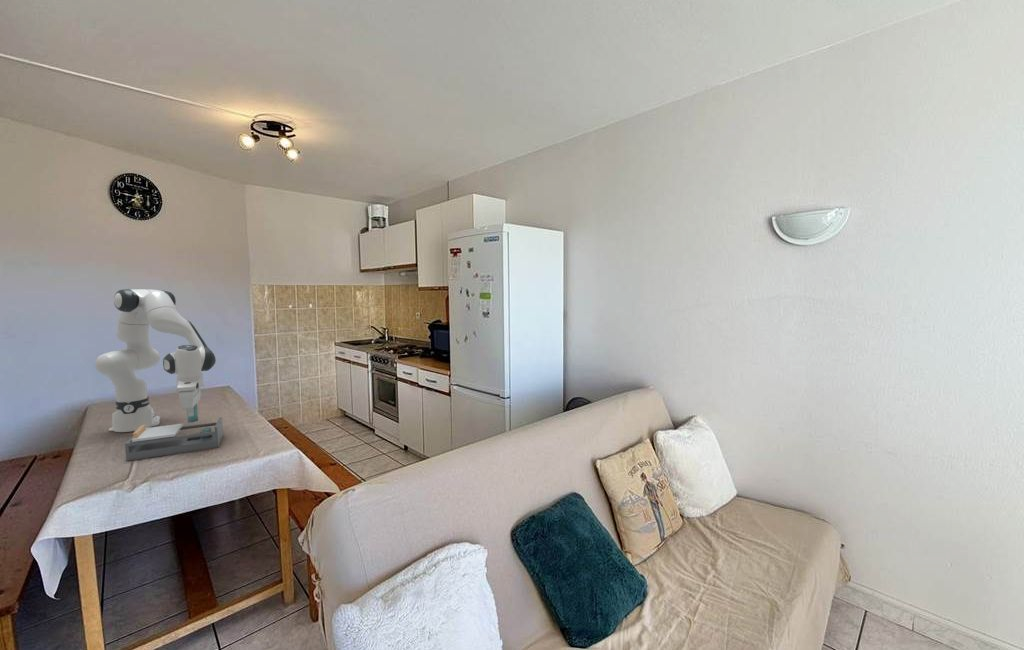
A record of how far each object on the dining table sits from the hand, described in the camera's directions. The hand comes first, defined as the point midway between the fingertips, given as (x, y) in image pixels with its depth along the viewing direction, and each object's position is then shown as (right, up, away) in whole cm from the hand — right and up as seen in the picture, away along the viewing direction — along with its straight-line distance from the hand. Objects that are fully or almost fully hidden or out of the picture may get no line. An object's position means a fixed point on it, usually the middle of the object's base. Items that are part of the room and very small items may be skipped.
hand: (192, 414), depth 178 cm
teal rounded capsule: (0, -3, 0) cm, 3 cm away
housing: (-5, -14, -1) cm, 15 cm away
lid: (-10, -7, -5) cm, 13 cm away
